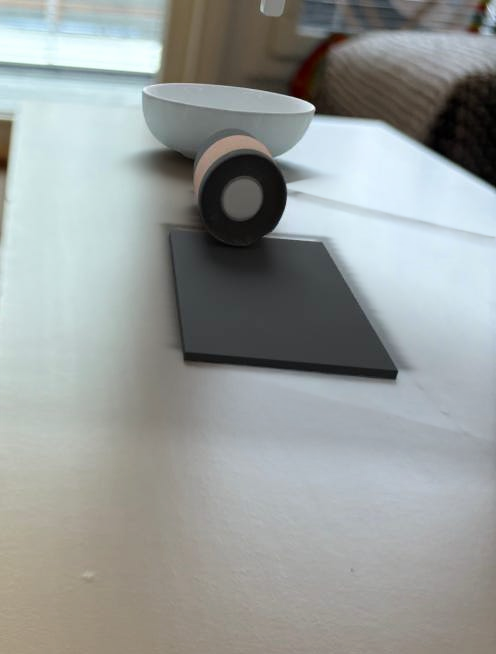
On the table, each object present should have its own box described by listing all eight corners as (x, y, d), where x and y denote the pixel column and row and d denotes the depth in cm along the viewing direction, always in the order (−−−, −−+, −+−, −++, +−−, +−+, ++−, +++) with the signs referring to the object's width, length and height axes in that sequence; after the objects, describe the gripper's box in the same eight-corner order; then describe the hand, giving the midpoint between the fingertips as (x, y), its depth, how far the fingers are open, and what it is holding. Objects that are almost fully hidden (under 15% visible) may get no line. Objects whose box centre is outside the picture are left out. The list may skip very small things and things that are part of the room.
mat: (169, 235, 90) (170, 229, 90) (320, 248, 90) (322, 241, 89) (183, 360, 65) (185, 351, 64) (396, 379, 64) (398, 370, 64)
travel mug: (205, 115, 98) (215, 140, 81) (278, 136, 98) (303, 164, 81) (180, 196, 102) (185, 234, 85) (250, 215, 102) (269, 257, 86)
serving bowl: (269, 185, 111) (282, 117, 106) (106, 156, 119) (113, 92, 115) (324, 159, 125) (338, 99, 121) (176, 135, 133) (184, 77, 129)
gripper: (367, -192, 72) (322, 27, 80) (325, -171, 88) (291, 9, 97) (282, -197, 72) (246, 22, 81) (255, -175, 89) (227, 5, 97)
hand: (270, 15), depth 89 cm, fingers closed
